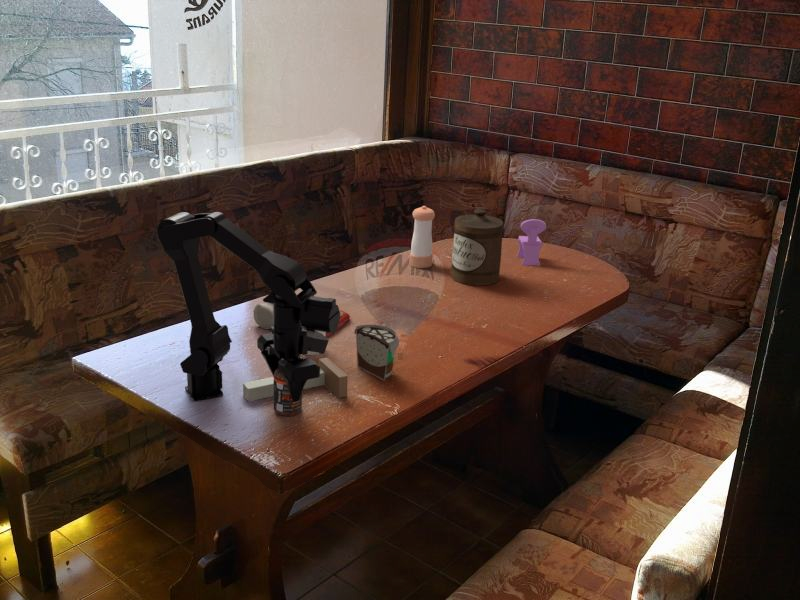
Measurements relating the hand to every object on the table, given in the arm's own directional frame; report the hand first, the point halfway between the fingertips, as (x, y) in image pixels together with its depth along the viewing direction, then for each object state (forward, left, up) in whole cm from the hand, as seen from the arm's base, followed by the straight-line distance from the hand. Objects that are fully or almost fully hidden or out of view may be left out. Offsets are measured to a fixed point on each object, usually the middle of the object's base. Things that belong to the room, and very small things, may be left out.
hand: (287, 392), depth 174 cm
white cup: (+17, +25, -4) cm, 31 cm away
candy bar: (+28, +34, -5) cm, 44 cm away
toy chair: (+111, +57, -4) cm, 125 cm away
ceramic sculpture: (+16, +44, -4) cm, 47 cm away
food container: (+27, +8, -4) cm, 28 cm away
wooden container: (+85, +51, -4) cm, 99 cm away
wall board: (+4, +5, -4) cm, 8 cm away
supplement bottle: (0, 0, -4) cm, 4 cm away
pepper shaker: (+76, +68, -4) cm, 102 cm away
